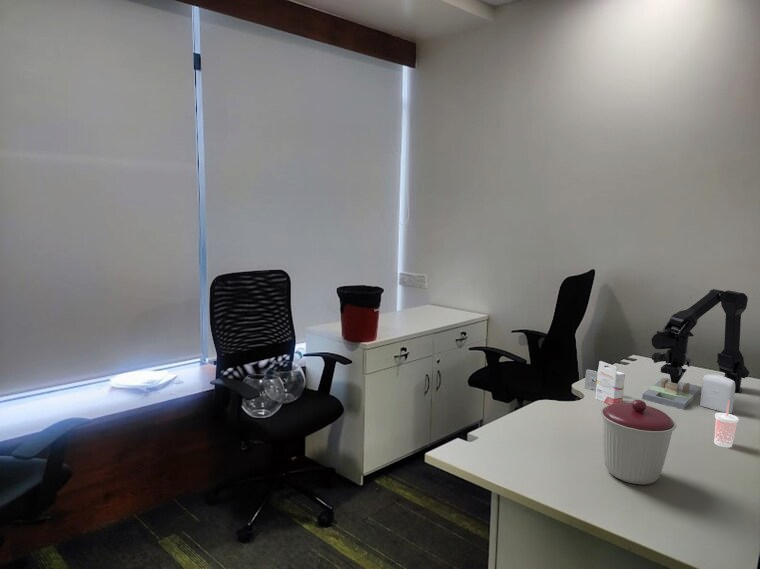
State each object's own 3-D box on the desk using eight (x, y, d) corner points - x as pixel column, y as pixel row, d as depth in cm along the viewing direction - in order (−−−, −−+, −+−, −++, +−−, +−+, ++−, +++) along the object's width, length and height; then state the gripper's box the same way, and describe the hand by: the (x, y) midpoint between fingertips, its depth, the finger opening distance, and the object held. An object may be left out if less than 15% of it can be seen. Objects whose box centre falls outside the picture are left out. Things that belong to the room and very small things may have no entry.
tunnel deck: (662, 382, 219) (663, 371, 218) (701, 391, 209) (702, 380, 209) (642, 398, 200) (643, 387, 199) (683, 409, 190) (685, 397, 190)
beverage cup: (738, 449, 160) (744, 405, 158) (716, 447, 161) (722, 403, 159) (729, 440, 166) (735, 398, 164) (708, 438, 167) (713, 396, 165)
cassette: (583, 388, 209) (585, 370, 208) (585, 387, 211) (587, 368, 209) (615, 396, 202) (617, 377, 200) (617, 395, 203) (619, 375, 202)
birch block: (667, 389, 205) (668, 381, 205) (678, 391, 202) (679, 384, 202) (664, 391, 202) (665, 384, 202) (676, 394, 199) (677, 386, 199)
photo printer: (697, 405, 194) (701, 373, 192) (702, 403, 197) (706, 371, 195) (729, 415, 187) (734, 381, 185) (733, 412, 189) (738, 378, 187)
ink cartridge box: (622, 404, 194) (627, 365, 191) (613, 406, 191) (617, 367, 189) (604, 396, 201) (607, 358, 199) (594, 398, 199) (598, 360, 197)
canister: (606, 452, 156) (613, 383, 153) (675, 473, 145) (685, 399, 142) (585, 476, 143) (593, 401, 139) (660, 501, 131) (670, 420, 128)
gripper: (662, 338, 214) (658, 376, 217) (647, 347, 201) (643, 387, 203) (693, 344, 207) (689, 383, 209) (680, 354, 193) (675, 395, 196)
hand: (673, 387), depth 205 cm, fingers closed
